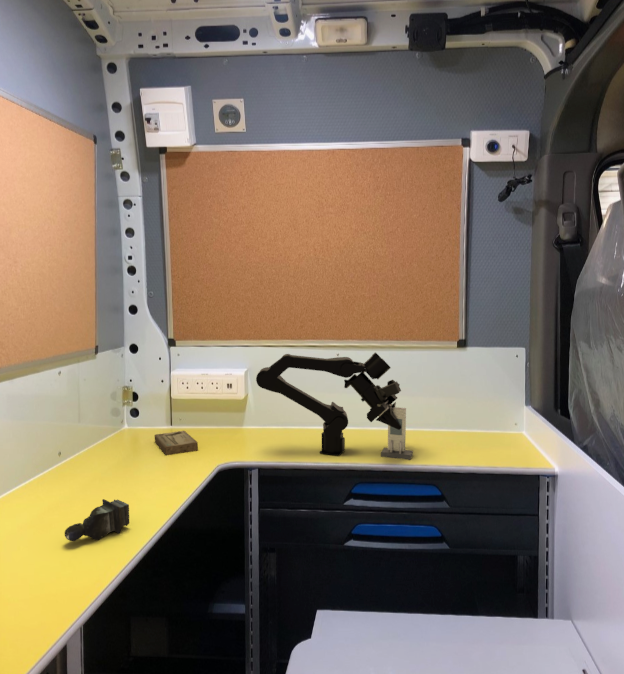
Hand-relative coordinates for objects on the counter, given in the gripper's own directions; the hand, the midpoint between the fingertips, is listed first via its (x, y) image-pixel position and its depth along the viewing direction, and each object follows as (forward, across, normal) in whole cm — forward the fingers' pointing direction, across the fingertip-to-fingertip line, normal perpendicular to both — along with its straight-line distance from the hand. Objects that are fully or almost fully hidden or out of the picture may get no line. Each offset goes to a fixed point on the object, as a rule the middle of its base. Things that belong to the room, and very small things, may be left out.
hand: (401, 427), depth 166 cm
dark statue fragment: (-28, -74, +42) cm, 90 cm away
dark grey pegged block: (+6, 0, +7) cm, 9 cm away
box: (-44, -14, +58) cm, 74 cm away
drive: (+4, 0, +6) cm, 7 cm away
